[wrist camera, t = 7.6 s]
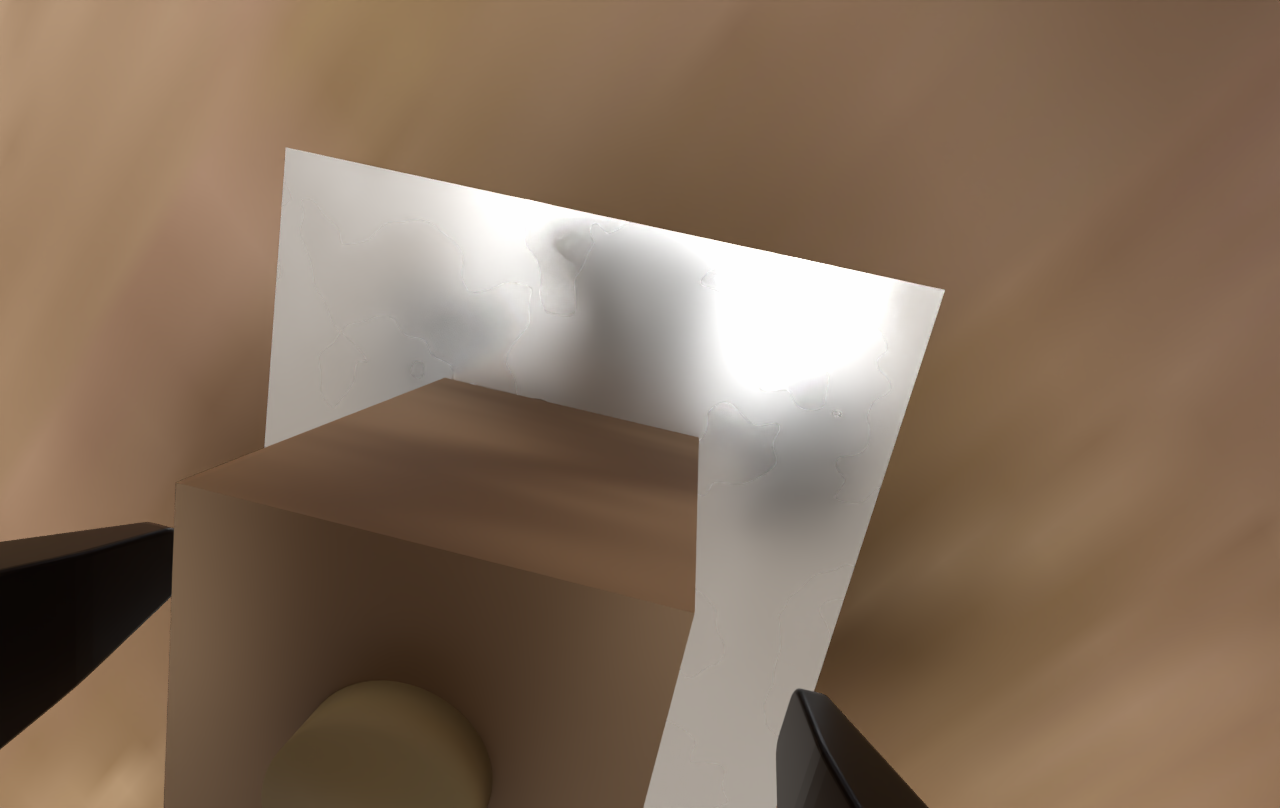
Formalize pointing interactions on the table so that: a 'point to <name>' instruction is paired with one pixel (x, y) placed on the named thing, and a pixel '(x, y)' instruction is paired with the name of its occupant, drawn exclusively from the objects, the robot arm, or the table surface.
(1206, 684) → the table surface
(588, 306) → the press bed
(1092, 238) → the table surface
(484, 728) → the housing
